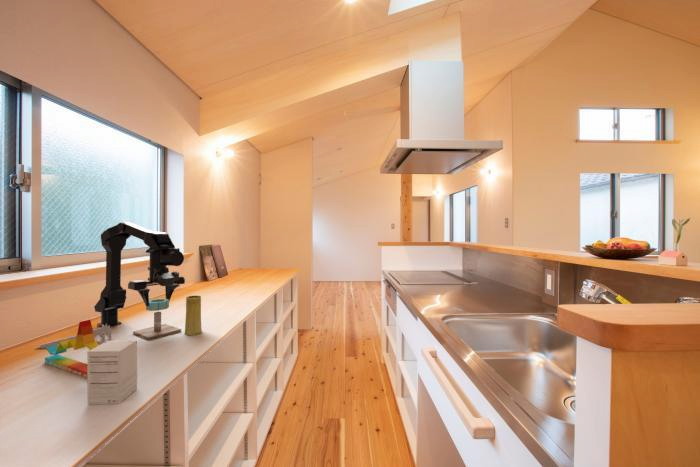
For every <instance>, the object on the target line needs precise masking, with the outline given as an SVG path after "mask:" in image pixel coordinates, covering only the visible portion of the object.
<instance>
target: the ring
mask: <svg viewBox="0 0 700 467" xmlns="http://www.w3.org/2000/svg"><path fill="white" fill-rule="evenodd" d="M169 307H170V301H169V299H166V298H154V299H149V306H148V307H147V306H146V305H145V310H146V311H149V312H153V311H155V312H159V311H162V310H168V309H169Z"/></svg>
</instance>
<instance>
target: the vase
mask: <svg viewBox="0 0 700 467" xmlns="http://www.w3.org/2000/svg"><path fill="white" fill-rule="evenodd" d="M201 296H202V295H198V294H197V295H195V294H194V295H188V296H186V298H185V320H184V321H185V323H184V325H185V326H184V328H185V329H184V335H186V336H194V335H199V334H201V333H202V332H203V331H202V330H203V329H202V297H201Z"/></svg>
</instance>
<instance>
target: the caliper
mask: <svg viewBox="0 0 700 467" xmlns="http://www.w3.org/2000/svg"><path fill="white" fill-rule="evenodd" d="M93 333H94V338H95V337H97V336H99V337H100V339H101V340H102V341H103V342H104V341H105V342H106V337H105V334H104V333H106V335H107V338H108V341H111V339H112V329H111V326H107V323H106V325H105V326H104V325H103V324H102V326H101V327H98V328H95V329H93ZM76 338H77V334H75V335H72V336H68V337H64V338H61V339H60V338H59V339H56V340H52V341H48V342H45V343H41V344H40V345H39V346H37V347H35V349H34V350H38V349H46V348H48V347H51V346H55V345H59V343H60V342H61V341H65V340H69V339H71V340H72V339H76Z"/></svg>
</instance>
